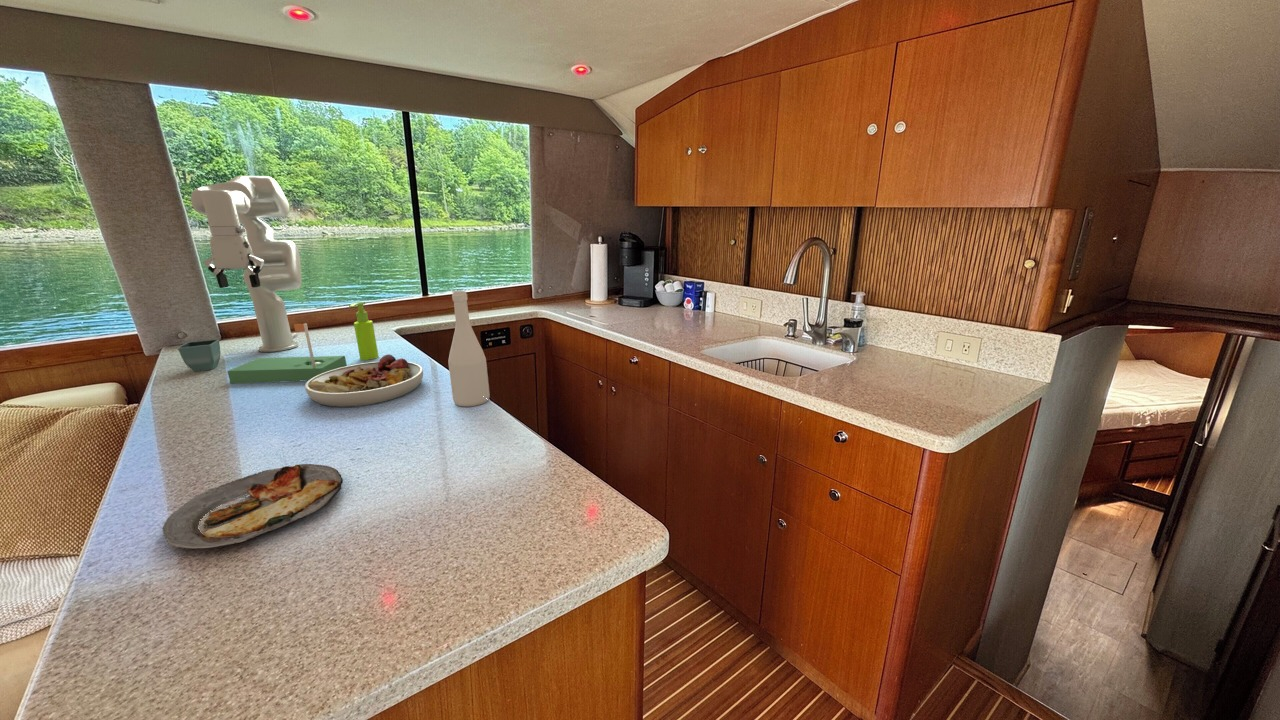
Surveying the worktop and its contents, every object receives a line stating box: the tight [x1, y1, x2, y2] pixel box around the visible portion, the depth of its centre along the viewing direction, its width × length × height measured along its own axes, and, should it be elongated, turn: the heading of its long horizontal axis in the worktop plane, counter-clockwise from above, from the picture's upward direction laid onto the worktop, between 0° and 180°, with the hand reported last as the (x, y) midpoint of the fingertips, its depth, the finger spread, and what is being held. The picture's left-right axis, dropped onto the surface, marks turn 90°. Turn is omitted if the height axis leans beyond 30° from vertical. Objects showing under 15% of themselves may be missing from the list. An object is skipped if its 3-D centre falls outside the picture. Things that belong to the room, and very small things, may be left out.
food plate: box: [161, 463, 344, 550], centre depth 86 cm, size 25×23×4 cm
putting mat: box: [227, 323, 348, 384], centre depth 158 cm, size 14×28×18 cm, turn 93°
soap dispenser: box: [348, 301, 379, 361], centre depth 175 cm, size 6×7×20 cm
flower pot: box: [177, 339, 221, 372], centre depth 167 cm, size 9×9×9 cm
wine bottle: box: [447, 290, 491, 408], centre depth 131 cm, size 10×10×30 cm
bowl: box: [304, 354, 424, 408], centre depth 144 cm, size 30×30×8 cm
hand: (240, 287), depth 159 cm, fingers open, 9 cm apart
